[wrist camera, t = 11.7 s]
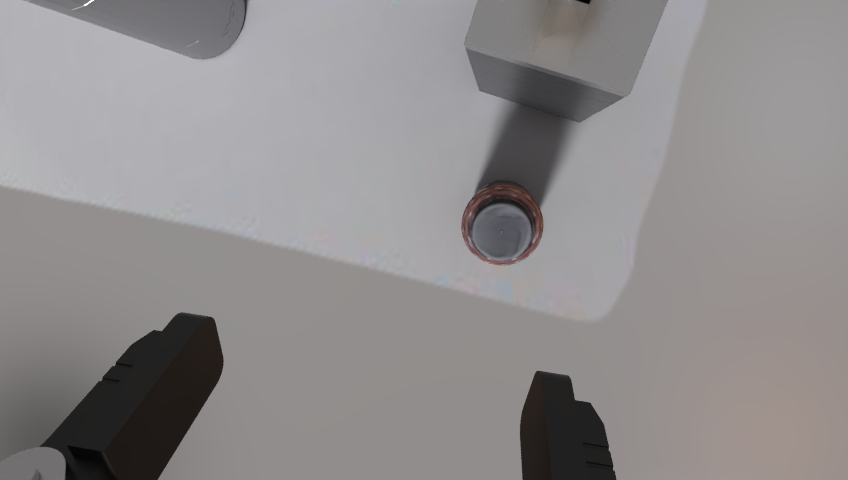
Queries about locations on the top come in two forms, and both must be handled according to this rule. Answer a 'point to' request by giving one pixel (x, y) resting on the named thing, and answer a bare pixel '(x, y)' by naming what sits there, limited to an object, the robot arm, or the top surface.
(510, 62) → the block with hole
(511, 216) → the supplement bottle
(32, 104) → the top surface
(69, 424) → the robot arm
